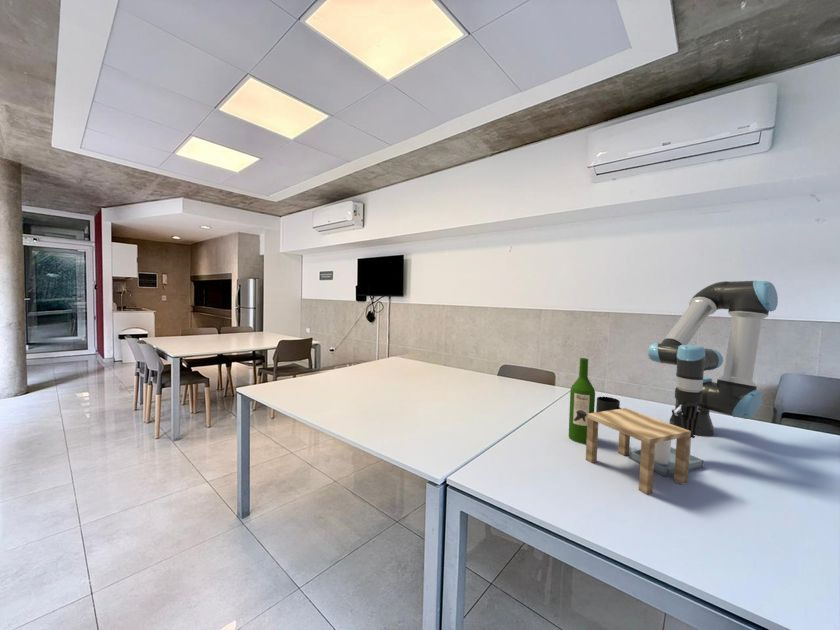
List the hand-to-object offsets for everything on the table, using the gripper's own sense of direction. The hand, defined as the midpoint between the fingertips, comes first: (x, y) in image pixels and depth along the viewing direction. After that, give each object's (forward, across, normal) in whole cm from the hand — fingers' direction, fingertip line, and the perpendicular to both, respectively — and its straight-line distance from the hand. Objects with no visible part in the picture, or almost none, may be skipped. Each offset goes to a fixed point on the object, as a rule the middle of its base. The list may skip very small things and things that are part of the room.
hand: (684, 454), depth 121 cm
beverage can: (+1, +14, 0) cm, 14 cm away
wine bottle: (+2, +22, -25) cm, 33 cm away
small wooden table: (+2, +25, 0) cm, 25 cm away
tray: (+2, +10, 0) cm, 10 cm away
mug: (+2, -8, -37) cm, 38 cm away
